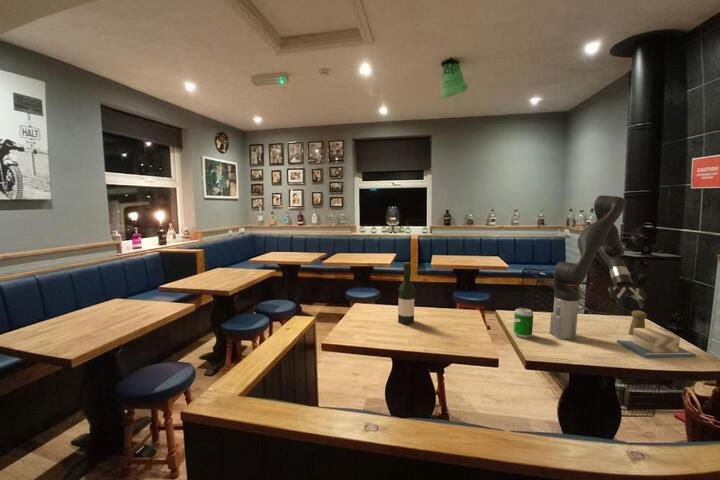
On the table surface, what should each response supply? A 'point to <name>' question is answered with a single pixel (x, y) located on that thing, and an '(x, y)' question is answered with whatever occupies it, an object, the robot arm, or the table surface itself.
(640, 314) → the cork
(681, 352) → the board
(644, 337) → the maple pedestal
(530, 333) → the soda can
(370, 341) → the table surface
